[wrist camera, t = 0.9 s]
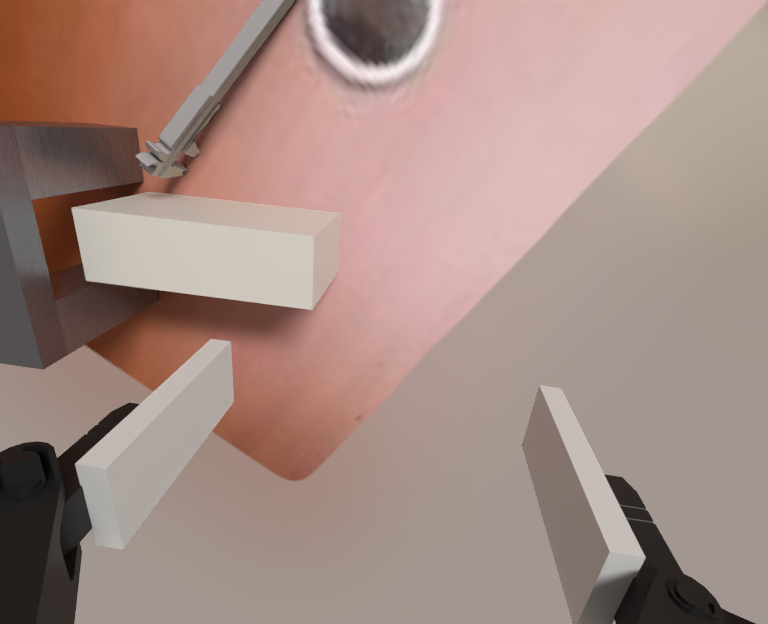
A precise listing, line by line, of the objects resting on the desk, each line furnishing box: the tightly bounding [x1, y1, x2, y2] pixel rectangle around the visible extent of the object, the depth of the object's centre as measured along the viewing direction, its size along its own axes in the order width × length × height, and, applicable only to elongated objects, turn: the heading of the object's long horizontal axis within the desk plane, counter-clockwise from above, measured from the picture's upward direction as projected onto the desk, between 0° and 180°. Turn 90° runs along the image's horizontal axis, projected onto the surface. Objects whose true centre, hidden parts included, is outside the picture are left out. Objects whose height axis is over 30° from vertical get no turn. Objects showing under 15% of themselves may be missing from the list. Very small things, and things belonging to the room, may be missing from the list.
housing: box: [0, 121, 159, 369], centre depth 30 cm, size 14×4×12 cm, turn 175°
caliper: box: [135, 0, 295, 179], centre depth 28 cm, size 20×1×6 cm, turn 138°
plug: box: [71, 192, 341, 310], centre depth 32 cm, size 5×18×8 cm, turn 85°
